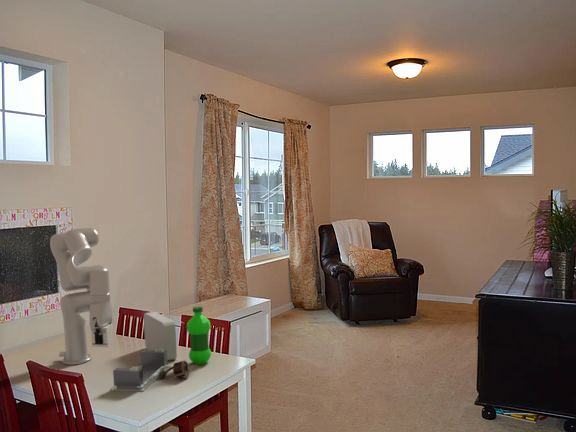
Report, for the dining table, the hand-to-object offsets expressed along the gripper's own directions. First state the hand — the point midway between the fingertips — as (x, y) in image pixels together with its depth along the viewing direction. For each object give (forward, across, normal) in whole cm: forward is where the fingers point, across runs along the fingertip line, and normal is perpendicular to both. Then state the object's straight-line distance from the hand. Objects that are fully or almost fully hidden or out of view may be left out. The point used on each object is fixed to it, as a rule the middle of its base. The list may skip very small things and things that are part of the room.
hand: (102, 341), depth 218 cm
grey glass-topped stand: (+17, -4, +14) cm, 22 cm away
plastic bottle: (+17, -25, +32) cm, 44 cm away
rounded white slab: (+17, -36, +8) cm, 40 cm away
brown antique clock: (+17, -6, +28) cm, 33 cm away
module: (+2, 0, 0) cm, 2 cm away
